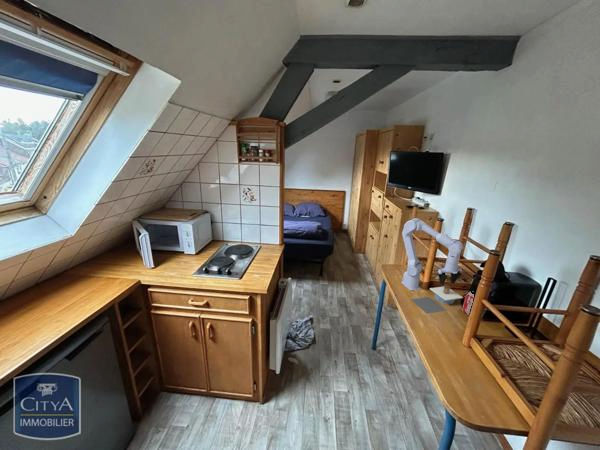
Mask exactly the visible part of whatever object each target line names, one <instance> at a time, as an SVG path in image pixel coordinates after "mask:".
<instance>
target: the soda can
mask: <svg viewBox="0 0 600 450" xmlns="http://www.w3.org/2000/svg"><path fill="white" fill-rule="evenodd" d="M471 291H472V290H471ZM471 291H468V292H467V294H466V295H465V298H464V301H463V306H462V312H463V314H465V315H467V316H469V313H470V309H471V306H472V303H473V299H474V294H472V293H471ZM469 317H470V316H469Z"/></svg>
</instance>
